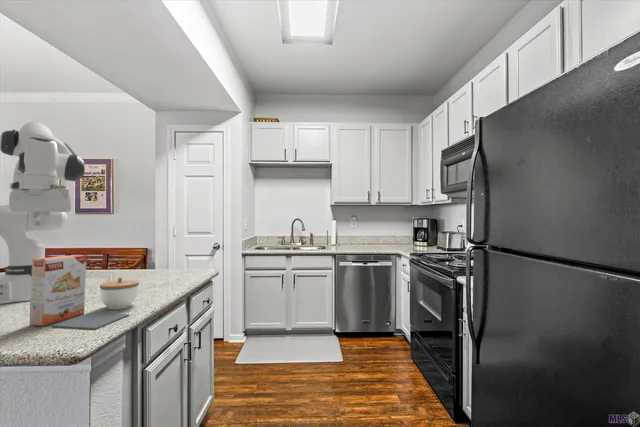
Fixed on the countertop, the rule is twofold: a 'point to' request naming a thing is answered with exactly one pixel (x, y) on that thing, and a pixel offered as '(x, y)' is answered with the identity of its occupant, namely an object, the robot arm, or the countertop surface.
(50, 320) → the cracker box
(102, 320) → the mat
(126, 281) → the lidded bowl
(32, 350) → the countertop surface
